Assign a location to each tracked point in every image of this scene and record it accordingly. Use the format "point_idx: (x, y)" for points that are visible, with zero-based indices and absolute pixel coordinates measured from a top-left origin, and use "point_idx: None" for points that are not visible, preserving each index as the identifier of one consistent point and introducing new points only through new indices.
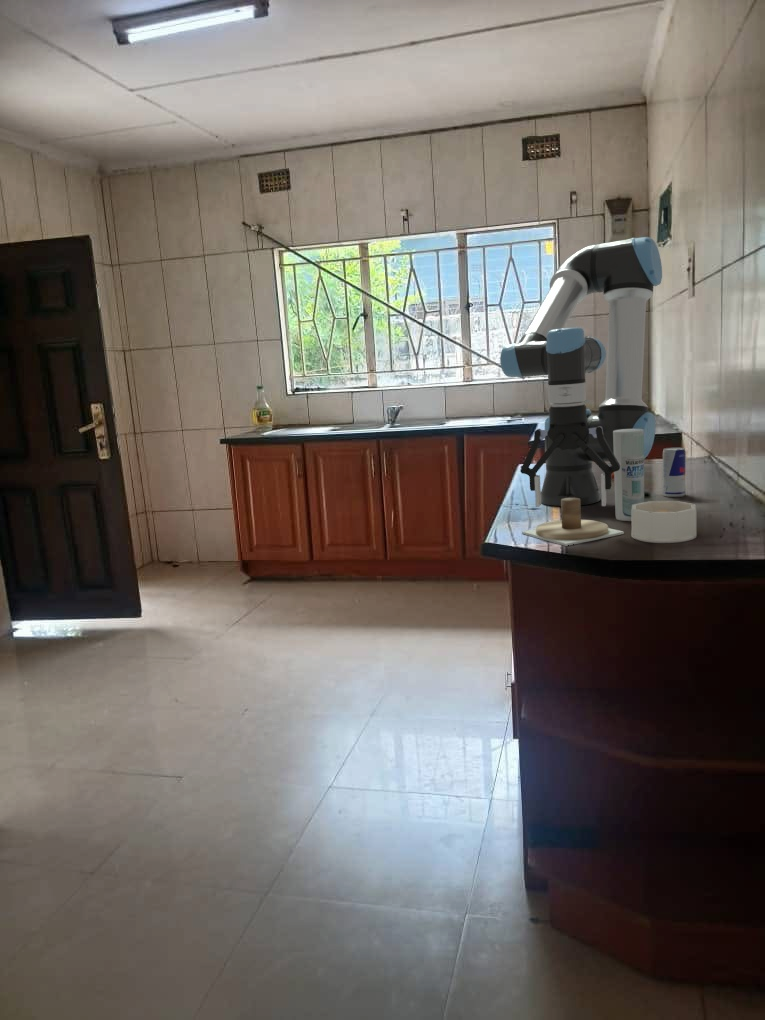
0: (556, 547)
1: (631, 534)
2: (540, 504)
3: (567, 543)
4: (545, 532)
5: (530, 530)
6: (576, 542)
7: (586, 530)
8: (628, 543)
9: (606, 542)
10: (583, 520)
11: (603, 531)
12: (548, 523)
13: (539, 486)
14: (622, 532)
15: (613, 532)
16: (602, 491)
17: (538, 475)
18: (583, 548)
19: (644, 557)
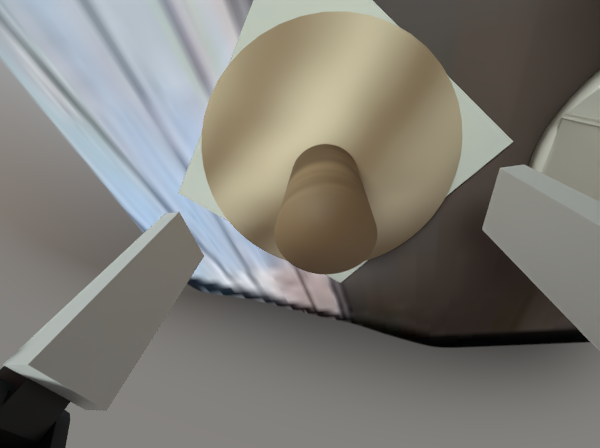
0: (322, 286)
1: (532, 162)
2: (186, 229)
3: (342, 280)
4: (270, 247)
5: (193, 177)
6: (360, 264)
7: (382, 213)
8: (494, 243)
9: (434, 241)
10: (347, 34)
11: (436, 206)
12: (222, 133)
13: (133, 308)
14: (505, 144)
15: (470, 161)
16: (545, 288)
17: (59, 385)
18: (380, 287)
19: (502, 322)
